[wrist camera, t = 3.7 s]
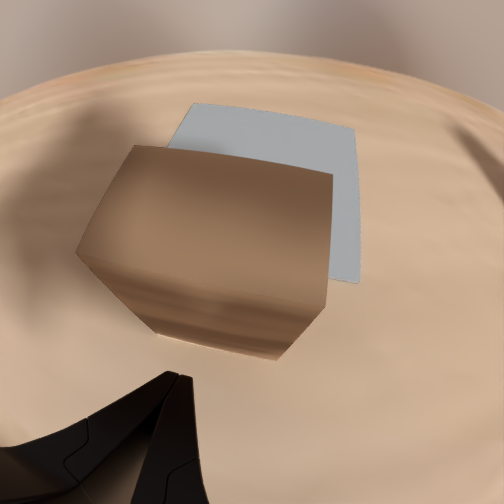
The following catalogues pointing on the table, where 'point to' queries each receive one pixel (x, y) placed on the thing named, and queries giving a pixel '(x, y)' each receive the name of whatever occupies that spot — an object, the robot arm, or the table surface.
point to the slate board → (288, 162)
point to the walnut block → (215, 247)
